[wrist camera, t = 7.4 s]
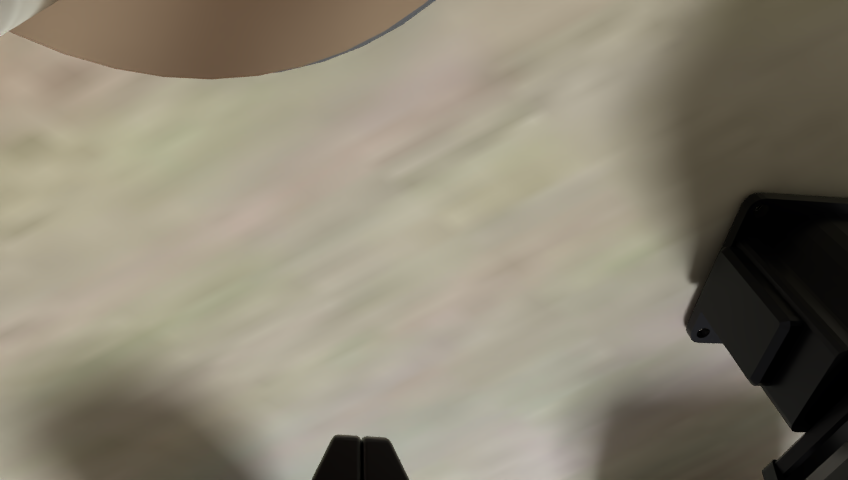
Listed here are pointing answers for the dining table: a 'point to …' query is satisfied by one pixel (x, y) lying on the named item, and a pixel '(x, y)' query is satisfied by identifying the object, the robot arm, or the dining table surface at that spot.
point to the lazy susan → (202, 32)
